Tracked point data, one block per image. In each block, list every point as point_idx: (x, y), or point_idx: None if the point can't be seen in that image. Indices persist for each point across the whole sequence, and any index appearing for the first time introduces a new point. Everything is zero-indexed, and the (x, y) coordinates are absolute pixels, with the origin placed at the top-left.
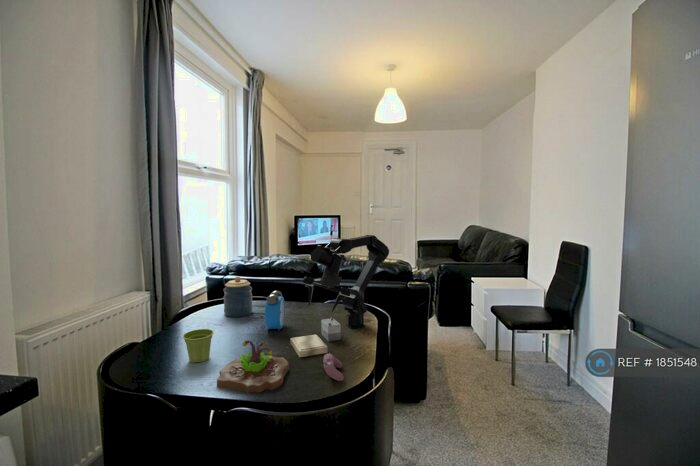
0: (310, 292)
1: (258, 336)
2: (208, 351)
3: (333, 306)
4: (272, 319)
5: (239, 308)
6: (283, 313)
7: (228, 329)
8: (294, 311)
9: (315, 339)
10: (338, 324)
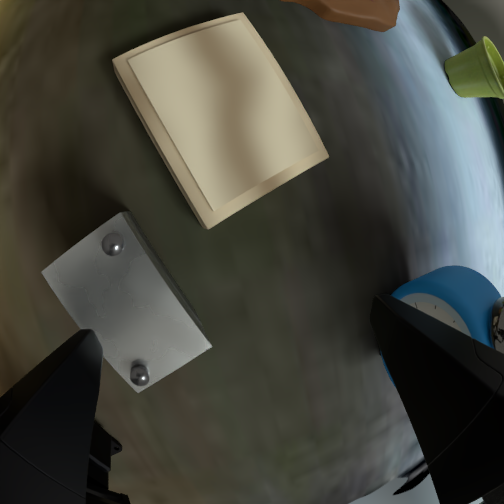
0: (499, 374)
1: (423, 227)
2: (458, 64)
3: (62, 364)
4: (442, 272)
5: None
6: None
7: (473, 267)
8: (349, 465)
9: (192, 132)
10: (53, 267)
